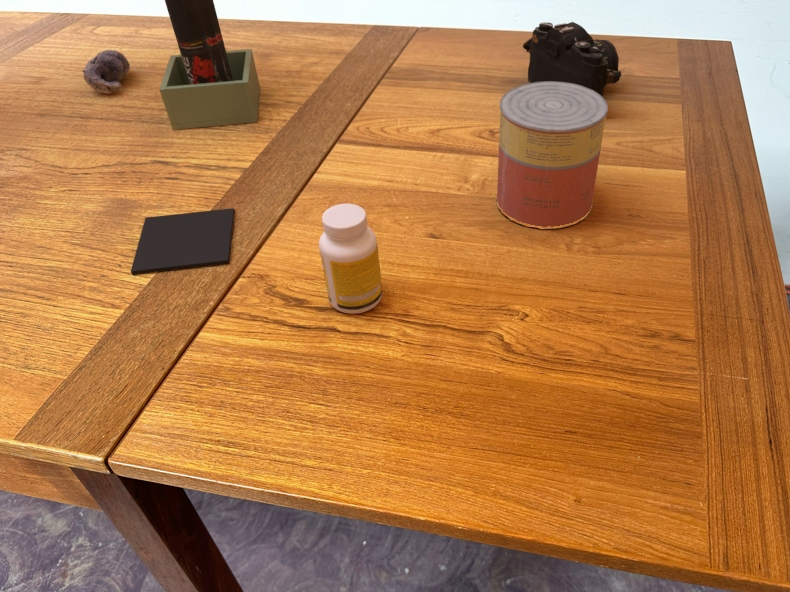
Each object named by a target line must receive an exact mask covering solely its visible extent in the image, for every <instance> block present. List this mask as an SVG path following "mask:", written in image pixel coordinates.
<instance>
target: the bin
mask: <svg viewBox="0 0 790 592" xmlns="http://www.w3.org/2000/svg"><path fill="white" fill-rule="evenodd" d="M226 54H227V58H228V62H229V65H230V69H231V73H232V77H233V81H227V82H215V83H204V84H192V85H190V83H189V80H188V77H187V73H186V70H185V66H184V63H183V60H182V56H181V54H172V55H170V56H169V59H168V63H167V65H166V67H165V71H164V75H163V78H162V81H161V84H160V86H159V93H160V96H161V98H162V101H163V104H164V108H165V110H166V113H167V117H168V119H169V123H170V125H171V126H170V127H171V128H172V129H171V130H173V131H176V130H177V131H178V130H186V129H187V130H188V129H189V130H190V129H197V128H208V127H218V126H219V127H220V126H230V125H240V124H251V123H258V121H259V120H258V119H259V106H260V94H261V85H260V79H259V76H258V71H257V67H256V62H255V57H254V52H253V49H252V48H246V49H245V48H244V49H233V50H226Z"/></svg>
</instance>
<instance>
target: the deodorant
mask: <svg viewBox="0 0 790 592" xmlns="http://www.w3.org/2000/svg"><path fill="white" fill-rule="evenodd" d="M164 3H165V6H166V10H167V13H168V16H169V19H170V23H171V27H172V30H173V33H174V36H175V40H176V42H177V46H178V50H179V53H180V55H181V56H182V60H183V63H184V66H185V70H186V73H187V77H188V80H189V83H190V85H192V84H204V83H215V82H227V81H233V77H232V73H231V69H230V65H229V62H228V58H227V54H226V51H227V50H226V46H225V43H224V38H223V34H222V31H221V27H220V22H219V17H218V14H217V10H216V6H215V2H214V0H164Z"/></svg>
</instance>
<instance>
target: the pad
mask: <svg viewBox="0 0 790 592" xmlns="http://www.w3.org/2000/svg"><path fill="white" fill-rule="evenodd" d="M235 212H236V211H235V208H234V207H231V208H221V209H213V210H212V209H211V210H204V211H202V210H201V211H193V212H185V213H176V214H175V213H174V214H165V215H156V216H147V217H145V218H144V222H143V225H142V228H141V234H140V235H139V239H138V244H137V247H136V251H135V254H134V257H133V262H132V264H131V265H132V266H131V269H130V273H131V275H133V276H134V275H142V274H151V273H159V272H168V271H177V270H186V269H194V268H203V267H213V266H220V265H228V264H230V260H231V259H230V258H231V250H232V239H233V233H234V232H233V231H234V223H235V215H236V213H235Z"/></svg>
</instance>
